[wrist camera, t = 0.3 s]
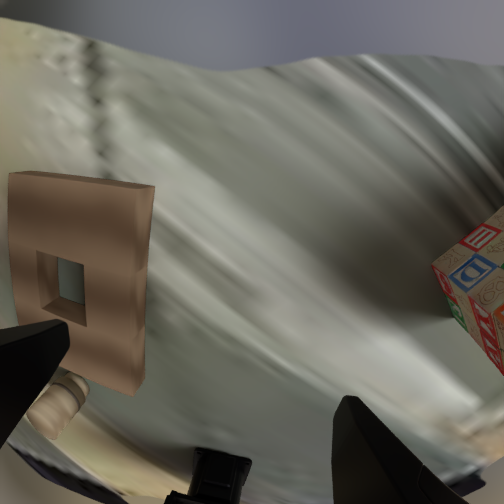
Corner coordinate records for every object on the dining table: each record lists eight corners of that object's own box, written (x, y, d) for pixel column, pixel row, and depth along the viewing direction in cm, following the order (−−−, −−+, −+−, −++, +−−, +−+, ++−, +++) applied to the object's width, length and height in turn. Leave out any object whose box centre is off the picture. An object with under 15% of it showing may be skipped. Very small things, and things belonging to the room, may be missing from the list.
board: (145, 378, 26) (132, 396, 24) (39, 334, 27) (23, 347, 24) (155, 186, 21) (136, 189, 19) (30, 170, 22) (9, 173, 19)
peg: (94, 401, 29) (60, 445, 21) (67, 389, 29) (32, 428, 21) (89, 376, 28) (51, 421, 20) (61, 364, 28) (21, 403, 20)
